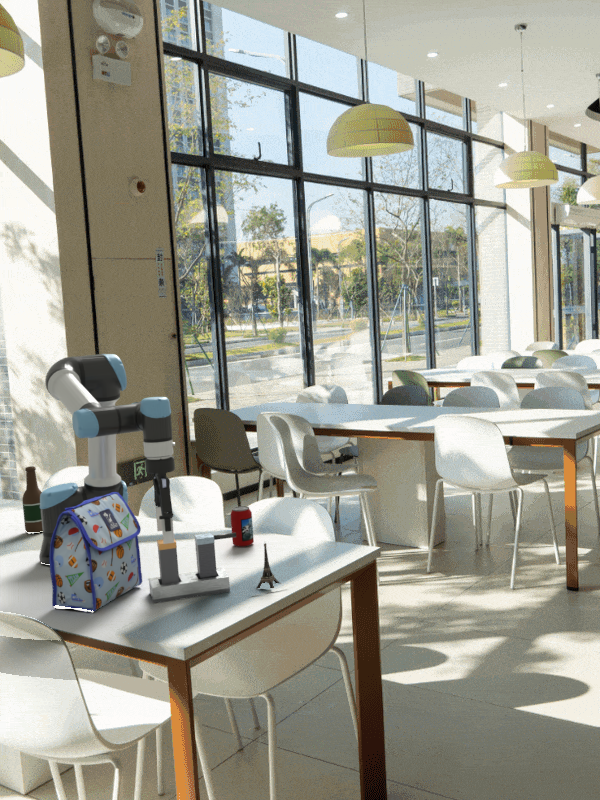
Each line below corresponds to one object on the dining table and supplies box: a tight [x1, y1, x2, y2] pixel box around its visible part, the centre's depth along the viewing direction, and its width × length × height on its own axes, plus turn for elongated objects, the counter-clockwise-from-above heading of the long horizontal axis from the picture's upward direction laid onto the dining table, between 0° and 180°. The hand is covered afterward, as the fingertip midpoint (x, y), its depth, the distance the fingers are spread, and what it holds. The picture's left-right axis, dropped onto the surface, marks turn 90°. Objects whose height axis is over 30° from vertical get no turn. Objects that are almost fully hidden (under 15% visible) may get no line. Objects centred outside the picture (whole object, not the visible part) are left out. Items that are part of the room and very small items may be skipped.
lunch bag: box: [49, 492, 143, 612], centre depth 218 cm, size 23×17×27 cm
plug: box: [156, 538, 180, 585], centre depth 217 cm, size 4×4×14 cm
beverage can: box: [230, 505, 254, 548], centre depth 263 cm, size 7×7×12 cm
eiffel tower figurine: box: [255, 542, 280, 589], centre depth 218 cm, size 15×10×13 cm
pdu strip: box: [148, 532, 236, 604], centre depth 219 cm, size 9×24×15 cm, turn 106°
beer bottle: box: [22, 466, 43, 532], centre depth 300 cm, size 8×8×24 cm
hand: (165, 536), depth 216 cm, fingers open, 13 cm apart
